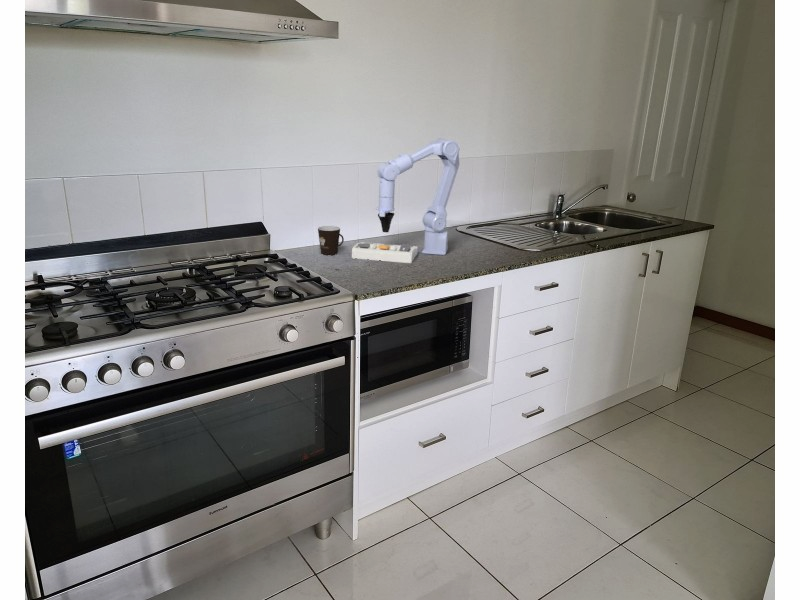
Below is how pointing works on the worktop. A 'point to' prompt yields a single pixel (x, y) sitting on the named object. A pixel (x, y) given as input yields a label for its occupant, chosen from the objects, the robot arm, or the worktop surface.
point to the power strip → (384, 253)
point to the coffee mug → (329, 239)
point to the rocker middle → (384, 247)
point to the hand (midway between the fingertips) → (385, 231)
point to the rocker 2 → (404, 247)
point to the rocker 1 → (363, 245)
